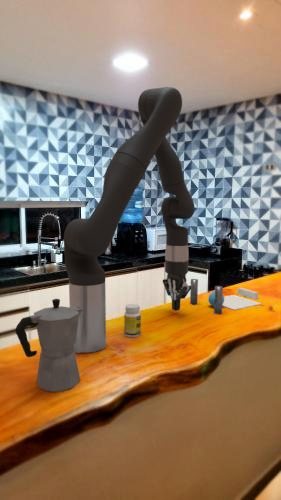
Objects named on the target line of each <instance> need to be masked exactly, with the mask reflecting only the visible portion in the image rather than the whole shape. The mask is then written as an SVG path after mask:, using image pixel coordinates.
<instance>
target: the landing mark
mask: <svg viewBox="0 0 281 500" xmlns="http://www.w3.org/2000/svg"><path fill="white" fill-rule="evenodd" d="M206 301H208V302H209V300H208V299H206ZM258 305H259V306H261V305H263V303H261V302H257V301H255V300H253V299H250V298H246V297H242V296H238V295H235V294H233V295H232V294H231V295H226V296H224V303H223V304H222V307H224V308H228V309H230V310H232V311H233V310H234V311H236V310H241V309H246V308H251V307H255V306H258Z"/></svg>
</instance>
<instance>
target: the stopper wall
mask: <svg viewBox="0 0 281 500" xmlns="http://www.w3.org/2000/svg"><path fill="white" fill-rule="evenodd" d="M237 295H240V296H241V297H242V296H243V297H244V298H248V299H251V300H258V299H259V292H257V291H254V290H250V289H248V288H244V287H237Z"/></svg>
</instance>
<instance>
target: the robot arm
mask: <svg viewBox="0 0 281 500" xmlns="http://www.w3.org/2000/svg"><path fill="white" fill-rule="evenodd" d="M182 107H183V98H182V94H181V92H180V91H179V90H178V89H177V88H175V87H172V86H164V87H157V88H149V89H148V88H147V89H145V90H143V91H142V92H141V93H140V95H139V97H138V102H137V108H138V114H139V117H140V120H141V123H142V127H141V128H140V129H139V130H138V131H136V132H135V133H134V134H133V135H132V136H130V137H128V139H127V140H126V141H125V142H123V143H122V144H121V145H120V146H119V147H118V149H117V150H116V151H115V153H114V155H113V157H112V158H111V160H110V161H109V164H108V165H107V167H106V169H105V172H104V180H103V188H102V193H101V197H100V199H99V201H98V203H97V205H96V206H95V208H94V210H93V211H92V213H91V215H90V216H89V217H88V218H81V217H80V218H76V219H75V218H74V219H73V220H71V221H70V222H69V223H68V224H67V226H66V227H65V230H64V235H63V250H64V251H63V253H64V254H63V255H64V266H65V271H66V273H67V275H68V292H69V293H68V296H69V297H68V298H69V299H68V300H69V301H68V302H69V307H80V308H82V309H84V310H83V311H82V312H81V314H80V316H79V320H78V328H77V335H76V343H75V344H74V351H75V354H79V353H95V352H99V351H101V350H103V349H105V348H106V346H107V317H106V316H107V315H106V314H107V313H106V310H107V308H106V306H107V305H106V302H107V301H106V298H107V297H106V271H105V270H104V268H103V267H102V266H101V265H100V263H99V261H98V257H100V256H101V255H103V254H104V253H105V252H106V251H107V250H108V248H109V247H110V244H111V243H112V241H113V238H114V235H115V233H116V231H117V228H118V226H119V223H120V221H121V219H122V217H123V214H124V212H125V210H126V208H127V206H128V205H129V203H130V201H131V199H132V196H133V195H134V192H135V190H136V189H137V188H138V186H139V184H140V183H141V181H142V179H143V178H144V176H145V173H146V171H147V170H148V167H149V165H150V163H151V162H152V161H153V158H154V157H155V160H156V164H157V165H156V166H157V168H158V169H157V170H158V175H159V179H160V182H161V187H162V190H163V192H165V193H166V194H169V195H172V196H167V197H165V198H164V199H163V200H162V202H161V205H160V210H161V216H162V219H163V223H164V227H165V233H166V235H165V236H166V239H165V240H166V241H165V243H166V244H165V255H164V259H165V260H164V261H165V262H164V264H165V265H164V272H165V273H166V274H167V275H166V278H164V279H162V283H163V286H164V289H165V292H166V294H167V296H169V297H170V299H171V310H173V311H175V312H176V311H180V310H181V300H182V299H186V297H187V296H188V294H189V293H190V290H191V285H188V283H187V278H186V277H187V276H186V275H187V274H188V273H189V256H190V255H189V253H190V251H189V230H188V228H187V227H186V226H182V225H180V224H178V223H177V221H176V220H190V219H191V218H192V217H193V215H194V214H195V210H196V209H195V202H194V199H193V197H192V195H191V193H190V191H189V189H188V186H187V184H186V183H185V176H184V172H183V171H184V170H183V166H182V163H181V160H180V158H179V156H178V154H177V153H176V151H175V149H174V148H173V147H172V146H171V144H170V142H169V141H168V138H167V137H166V136H168V133H169V132H171V129H172V128H173V127H174V125H175V123H176V122H177V120H178V118H179V117H180V115H181V112H182Z"/></svg>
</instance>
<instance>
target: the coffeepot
mask: <svg viewBox="0 0 281 500" xmlns="http://www.w3.org/2000/svg"><path fill="white" fill-rule="evenodd" d="M51 301H52V306H51V307H45V308H42V309H40V310H37V311H34V312H33V315H28V316H25V317H22V318H21V319H20V320H19V322H18V324H17V325H16V327H15V334H16V337H17V339H18V340H19V341H18V342H19V343H20V345H21V348H22V350H23V352H24V355H25V356H26V358H32V357H35V356H36V355H37V354H38V351H37V350H33V351H32V350H31V344H30V342H29V340H28V336H27V333H26V330H25V329H26V328H27V327H34V326H36V331H37V336H38V341H39V342H38V343H39V346H40V348H41V350H40V351H41V352H40V353H39V361H38V368H37V375H36V382H37V383H38V384H37V387H38V388H39V389H40V390H42V391H44V392H49V393H50V392H51V393H58V392H60V393H61V392H64V391H68V390H71V389H72V388H74V387H75V386H77V385H78V383H79V382H80V381H81V378H80V377H81V376H80V371H79V366H78V361H77V355H76V352H75V351H74V344H75V343H76V335H77V328H78V320H79V316H80V314H81V312H82V311H83V310H84V309H82V308H80V307H70V306H60V303H61V300H60V299H59V298H54V299H52V300H51Z"/></svg>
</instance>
